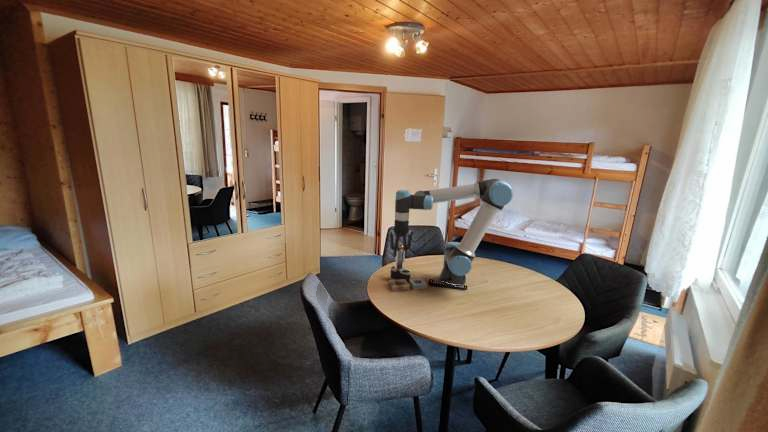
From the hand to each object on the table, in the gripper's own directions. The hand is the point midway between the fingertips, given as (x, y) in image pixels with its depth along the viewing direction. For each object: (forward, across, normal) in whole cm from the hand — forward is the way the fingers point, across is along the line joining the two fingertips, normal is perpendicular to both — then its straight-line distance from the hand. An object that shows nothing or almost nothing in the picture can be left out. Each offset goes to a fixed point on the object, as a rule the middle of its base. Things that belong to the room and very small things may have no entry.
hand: (399, 261), depth 178 cm
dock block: (+15, 0, 0) cm, 15 cm away
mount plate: (+15, -11, 0) cm, 19 cm away
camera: (+16, -5, -10) cm, 19 cm away
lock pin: (+4, 0, 0) cm, 4 cm away
